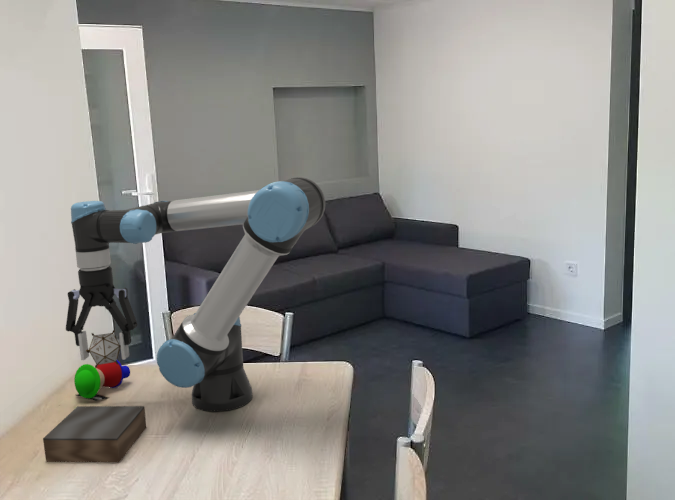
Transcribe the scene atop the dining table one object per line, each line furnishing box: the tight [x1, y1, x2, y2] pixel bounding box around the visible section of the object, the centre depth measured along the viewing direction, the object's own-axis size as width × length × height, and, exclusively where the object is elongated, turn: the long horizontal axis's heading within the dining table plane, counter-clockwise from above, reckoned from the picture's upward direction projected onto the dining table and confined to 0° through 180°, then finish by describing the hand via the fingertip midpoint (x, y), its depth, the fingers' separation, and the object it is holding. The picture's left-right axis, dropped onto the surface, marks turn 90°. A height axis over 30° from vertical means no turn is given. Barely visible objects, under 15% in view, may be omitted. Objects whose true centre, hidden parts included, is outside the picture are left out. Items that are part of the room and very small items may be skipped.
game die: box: [86, 329, 121, 368], centre depth 163 cm, size 9×8×10 cm
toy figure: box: [73, 359, 131, 402], centre depth 178 cm, size 9×10×15 cm
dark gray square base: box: [42, 405, 147, 463], centre depth 149 cm, size 16×16×5 cm
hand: (105, 357), depth 163 cm, fingers closed on game die, 9 cm apart
